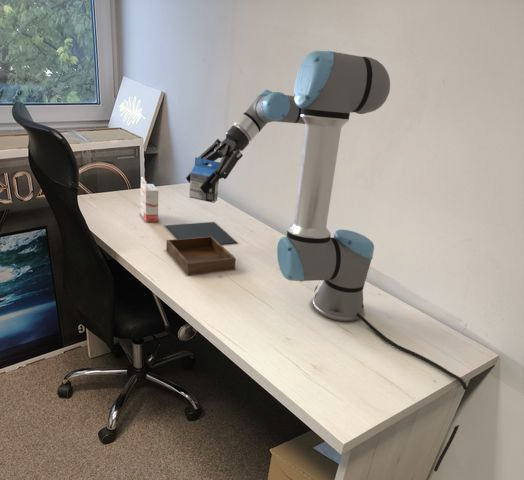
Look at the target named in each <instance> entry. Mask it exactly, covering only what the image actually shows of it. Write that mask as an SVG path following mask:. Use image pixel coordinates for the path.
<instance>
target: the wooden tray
mask: <svg viewBox="0 0 524 480" xmlns="http://www.w3.org/2000/svg"><path fill="white" fill-rule="evenodd" d="M165 251H166V252H167V254H168V255H169V256H170V257H171V258H172V259H173V260H174V262H175V263H176V264H177V265H178V266H179V267H180V269H181V270H182V271H183V272H184V273H185V275H187V276H193V275H201V274H209V273H217V272H218V273H219V272H224V271H225V272H226V271H233V270H235V269H236V260H237V258H236V257H235V256H234V255H233V254H232V253H230V252H229V251H228V250H227V248H225V247H224V246H223V245H221V244H220V243H219V242H218V241H216V240H215V239H214V238H213V237H212V236H208V237H196V238H184V239H177V238H174V239H173V238H172V239H166V249H165Z"/></svg>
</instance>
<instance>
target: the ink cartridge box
mask: <svg viewBox="0 0 524 480" xmlns="http://www.w3.org/2000/svg"><path fill="white" fill-rule="evenodd" d="M140 215H141V217H142V218H143V220H144V221H145V222H146V223H151V222H153V223H155V222H157V223H158V222H159V190H158V188H157V187H156V186H155V185H154V183H148V182H147V180H146V179H145V178H144V176H141V177H140Z"/></svg>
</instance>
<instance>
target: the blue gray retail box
mask: <svg viewBox="0 0 524 480" xmlns="http://www.w3.org/2000/svg"><path fill="white" fill-rule="evenodd" d="M220 162H221V161H216V160H215V161H211V160H206V159H201V158H198V157H194V165H193V167H192V169H191V171H190V173H191V174H190V173H189V174H190V183H189V198H190V199H194V200H198V201H204V202H208V203H212V204H214V203H216V202H217V201H218V195H219V183H220V181H219V180H220V179H219V180H218V181H217V182H216V183H215V185H213V186H212V187H211V188H210V190H209V191H208V192H207V193H206V194H205V193H204V192H203V191H202V190H201V189H200V187H201V185H202V184H203V183H204V182H205V181H206V180H207V179H208V178H209V176H210V175H211V174H212V173H213V172H214V171H216V170H217V168H218V166H219V164H220ZM203 163H208V164H209V165H208V166H207V165H203ZM214 173H215V172H214ZM215 174H216V173H215Z"/></svg>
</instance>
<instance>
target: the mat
mask: <svg viewBox="0 0 524 480" xmlns="http://www.w3.org/2000/svg"><path fill="white" fill-rule="evenodd" d="M165 228H167V230H168V231H169V232H170V233H171V234H172V235H173V236H174V237H175V239H184V238H196V237H208V236H212V237H213V238H214V239H215V240H216V241H218V242H219V243H220V244H221V245H222V246H223V245H231V244H233V245H234V244H237V243H238V242H237V241H236V240H235V239H234V238H233V237H232V236H230V235H229V234H228V233H227V232H226V231H225V230H224V229H222V228H221V227H220V226H219V225H218V224H217V223H216V222H214V221H211V222H196V223H182V224H168V225H165Z"/></svg>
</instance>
